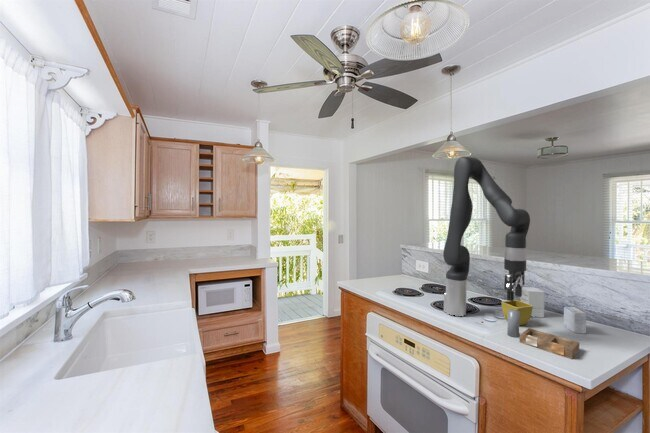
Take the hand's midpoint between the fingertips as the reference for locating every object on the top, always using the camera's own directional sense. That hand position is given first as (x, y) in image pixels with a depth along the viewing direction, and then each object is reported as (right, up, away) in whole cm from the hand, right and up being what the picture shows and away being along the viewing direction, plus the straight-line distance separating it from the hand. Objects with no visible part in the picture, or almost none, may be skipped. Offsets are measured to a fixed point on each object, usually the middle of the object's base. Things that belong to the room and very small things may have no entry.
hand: (514, 298), depth 122 cm
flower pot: (+9, -15, +13) cm, 22 cm away
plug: (0, -15, +1) cm, 15 cm away
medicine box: (+30, -16, +7) cm, 34 cm away
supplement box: (+23, -15, +24) cm, 37 cm away
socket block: (+7, -16, -9) cm, 19 cm away
